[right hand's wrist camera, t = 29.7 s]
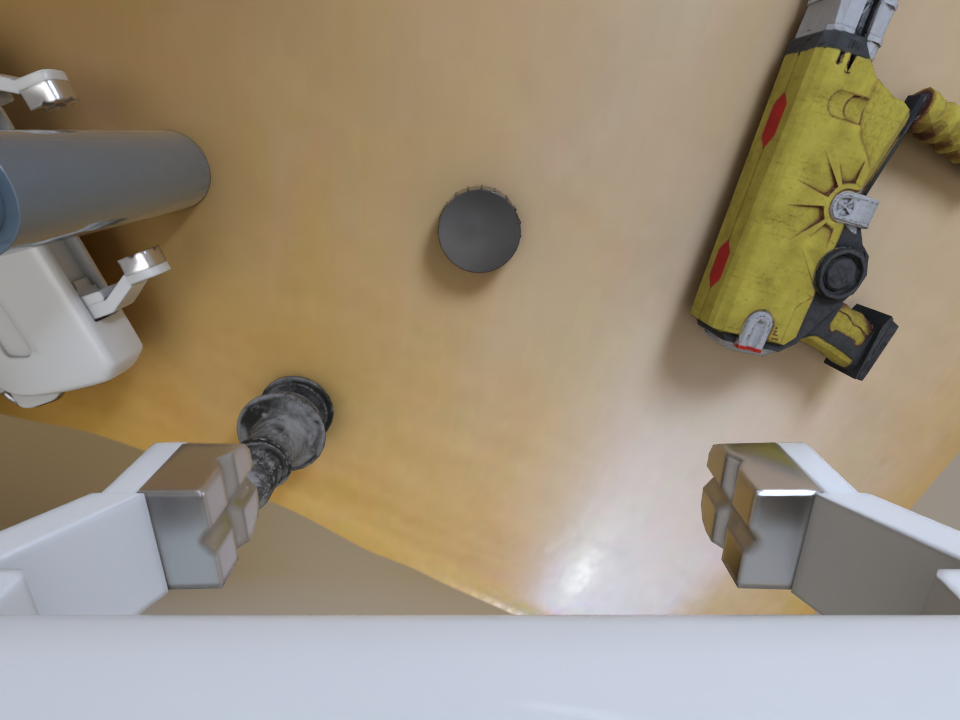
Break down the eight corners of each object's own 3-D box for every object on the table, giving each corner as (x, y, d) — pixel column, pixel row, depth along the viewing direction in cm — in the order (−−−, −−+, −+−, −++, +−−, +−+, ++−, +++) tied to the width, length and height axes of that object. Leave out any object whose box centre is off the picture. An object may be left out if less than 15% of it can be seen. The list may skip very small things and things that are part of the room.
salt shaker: (336, 448, 43) (287, 559, 32) (257, 441, 43) (178, 550, 32) (338, 376, 41) (285, 468, 30) (254, 368, 41) (170, 457, 30)
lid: (494, 168, 36) (495, 171, 34) (533, 241, 38) (537, 247, 36) (424, 211, 37) (421, 216, 35) (465, 280, 39) (464, 288, 37)
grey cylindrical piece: (160, 220, 37) (-106, 293, 20) (119, 147, 36) (-209, 161, 19) (224, 192, 37) (5, 245, 20) (184, 117, 35) (-92, 104, 18)
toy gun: (1141, -31, 29) (896, -131, 27) (917, 395, 37) (708, 350, 34) (1047, -7, 34) (828, -92, 31) (864, 369, 41) (675, 327, 39)
